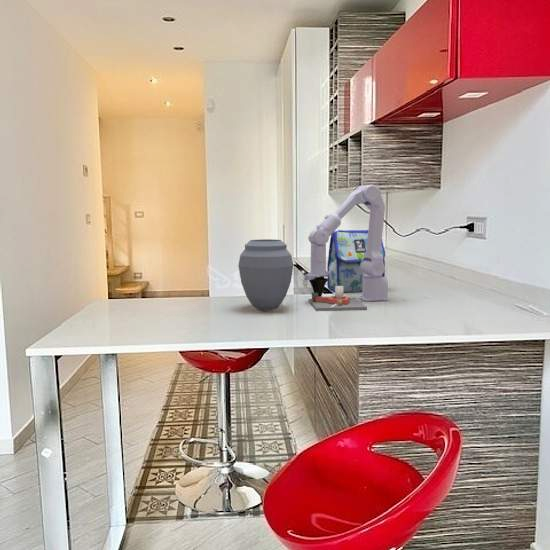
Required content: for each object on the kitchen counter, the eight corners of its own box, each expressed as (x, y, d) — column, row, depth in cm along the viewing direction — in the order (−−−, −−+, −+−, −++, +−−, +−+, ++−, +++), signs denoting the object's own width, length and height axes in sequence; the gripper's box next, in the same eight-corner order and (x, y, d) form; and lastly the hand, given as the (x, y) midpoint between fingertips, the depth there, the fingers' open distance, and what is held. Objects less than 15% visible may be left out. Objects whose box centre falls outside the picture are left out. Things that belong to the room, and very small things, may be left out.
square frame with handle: (349, 300, 198) (349, 292, 198) (347, 304, 192) (347, 295, 191) (313, 299, 202) (313, 291, 202) (309, 302, 195) (310, 294, 195)
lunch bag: (338, 294, 220) (338, 231, 217) (325, 288, 236) (325, 229, 233) (387, 292, 225) (389, 230, 222) (371, 286, 241) (372, 228, 238)
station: (354, 300, 206) (355, 282, 205) (366, 309, 187) (367, 290, 186) (308, 301, 205) (308, 283, 204) (316, 310, 186) (316, 291, 185)
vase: (301, 305, 196) (301, 239, 193) (279, 315, 178) (279, 242, 175) (254, 302, 204) (253, 238, 201) (228, 311, 186) (227, 241, 183)
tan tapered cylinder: (341, 305, 191) (341, 299, 191) (342, 306, 189) (342, 300, 189) (336, 305, 191) (337, 299, 191) (337, 306, 189) (337, 300, 189)
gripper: (320, 259, 208) (320, 293, 210) (298, 262, 197) (298, 298, 199) (335, 260, 204) (335, 295, 205) (313, 263, 193) (313, 300, 195)
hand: (318, 297), depth 202 cm, fingers closed
